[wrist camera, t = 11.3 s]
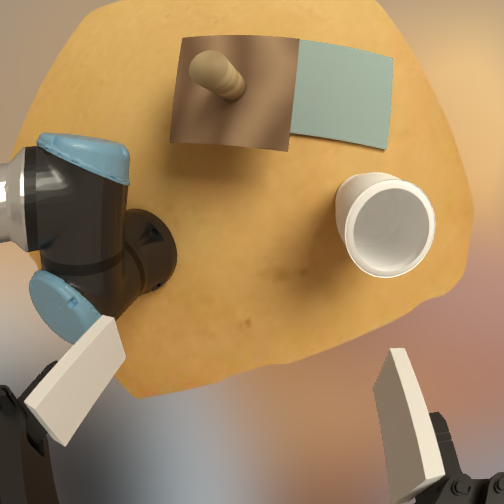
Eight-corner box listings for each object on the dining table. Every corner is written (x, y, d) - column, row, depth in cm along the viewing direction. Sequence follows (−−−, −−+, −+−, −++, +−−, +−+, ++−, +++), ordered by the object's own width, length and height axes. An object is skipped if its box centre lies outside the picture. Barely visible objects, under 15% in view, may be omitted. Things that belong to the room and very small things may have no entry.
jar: (342, 155, 37) (367, 161, 23) (402, 182, 37) (450, 203, 23) (318, 221, 41) (328, 261, 28) (377, 244, 41) (409, 290, 27)
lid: (173, 142, 32) (129, 144, 22) (186, 40, 26) (148, 12, 17) (287, 151, 30) (284, 153, 21) (299, 42, 25) (299, 4, 16)
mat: (285, 132, 37) (285, 132, 37) (293, 40, 31) (293, 39, 31) (385, 149, 36) (386, 149, 35) (391, 59, 30) (392, 58, 29)
